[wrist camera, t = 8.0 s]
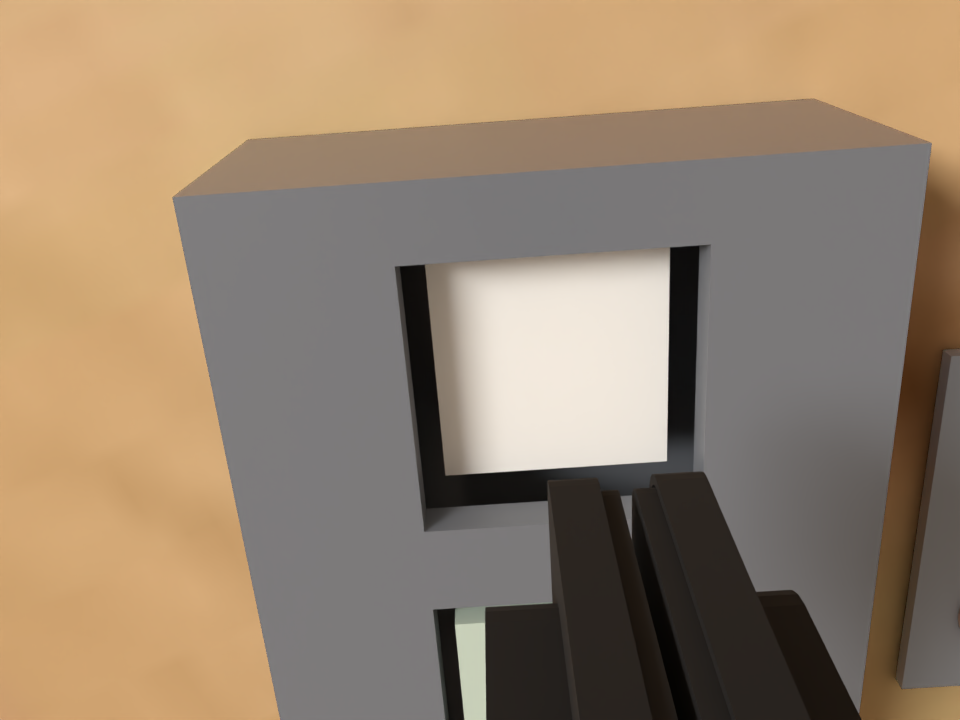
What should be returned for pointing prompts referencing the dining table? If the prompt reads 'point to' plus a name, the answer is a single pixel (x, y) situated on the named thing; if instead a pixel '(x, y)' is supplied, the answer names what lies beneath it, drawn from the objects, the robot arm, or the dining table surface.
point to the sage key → (473, 659)
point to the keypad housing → (523, 494)
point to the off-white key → (551, 360)
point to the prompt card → (936, 551)
